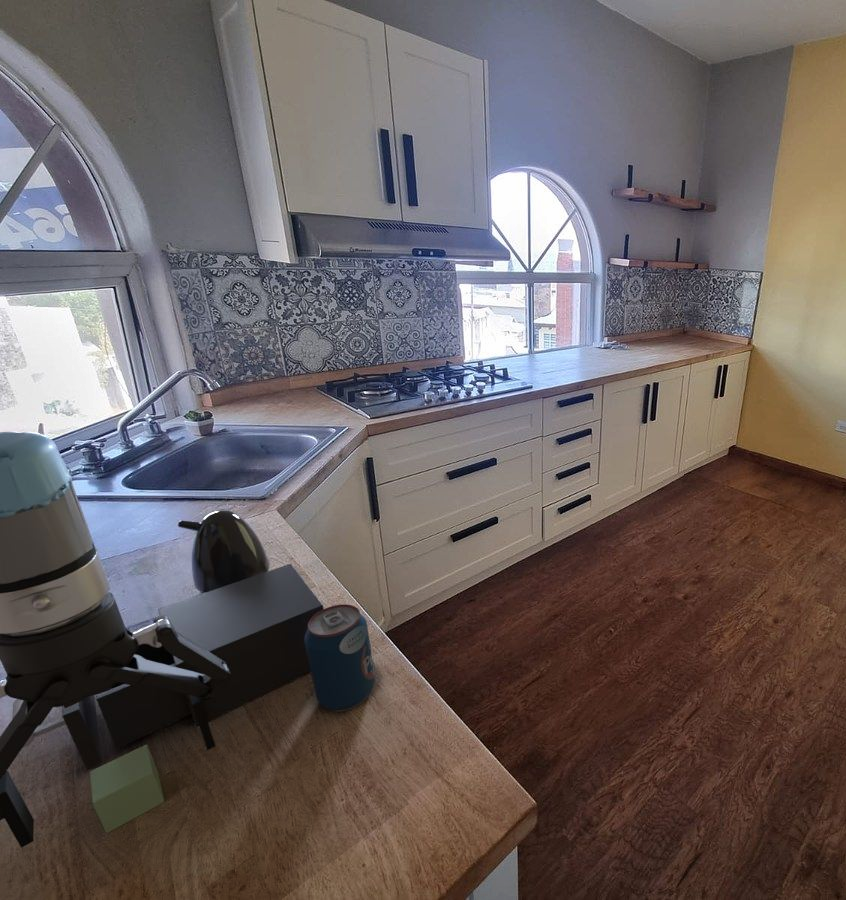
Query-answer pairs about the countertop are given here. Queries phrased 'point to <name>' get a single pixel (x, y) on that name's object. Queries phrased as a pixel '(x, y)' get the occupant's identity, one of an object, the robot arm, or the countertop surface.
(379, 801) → the countertop surface
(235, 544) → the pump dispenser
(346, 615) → the soda can
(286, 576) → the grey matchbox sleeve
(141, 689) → the drawer
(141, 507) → the countertop surface
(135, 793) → the block
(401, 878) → the countertop surface
